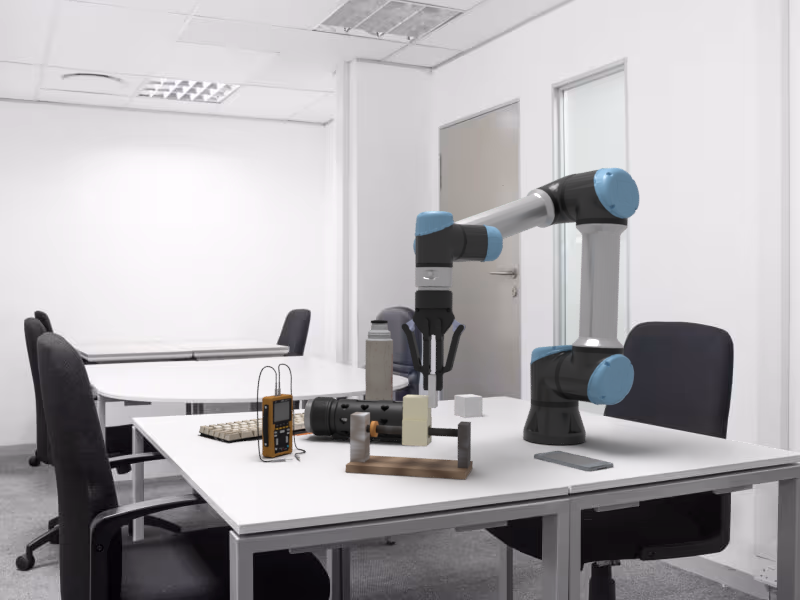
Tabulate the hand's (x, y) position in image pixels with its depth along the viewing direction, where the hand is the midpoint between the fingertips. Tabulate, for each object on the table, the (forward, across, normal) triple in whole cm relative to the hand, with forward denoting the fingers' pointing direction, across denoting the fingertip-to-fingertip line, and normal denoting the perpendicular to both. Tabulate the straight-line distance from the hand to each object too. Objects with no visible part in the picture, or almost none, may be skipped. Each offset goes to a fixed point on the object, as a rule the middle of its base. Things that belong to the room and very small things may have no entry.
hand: (432, 406), depth 157 cm
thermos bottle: (+13, -28, +66) cm, 73 cm away
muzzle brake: (+13, -22, +29) cm, 39 cm away
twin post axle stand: (+13, -5, 0) cm, 14 cm away
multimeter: (+13, -33, +6) cm, 36 cm away
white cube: (+13, -3, +74) cm, 75 cm away
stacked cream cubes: (+7, -3, 0) cm, 8 cm away
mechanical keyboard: (+14, -48, +36) cm, 61 cm away
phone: (+14, +27, +16) cm, 35 cm away
